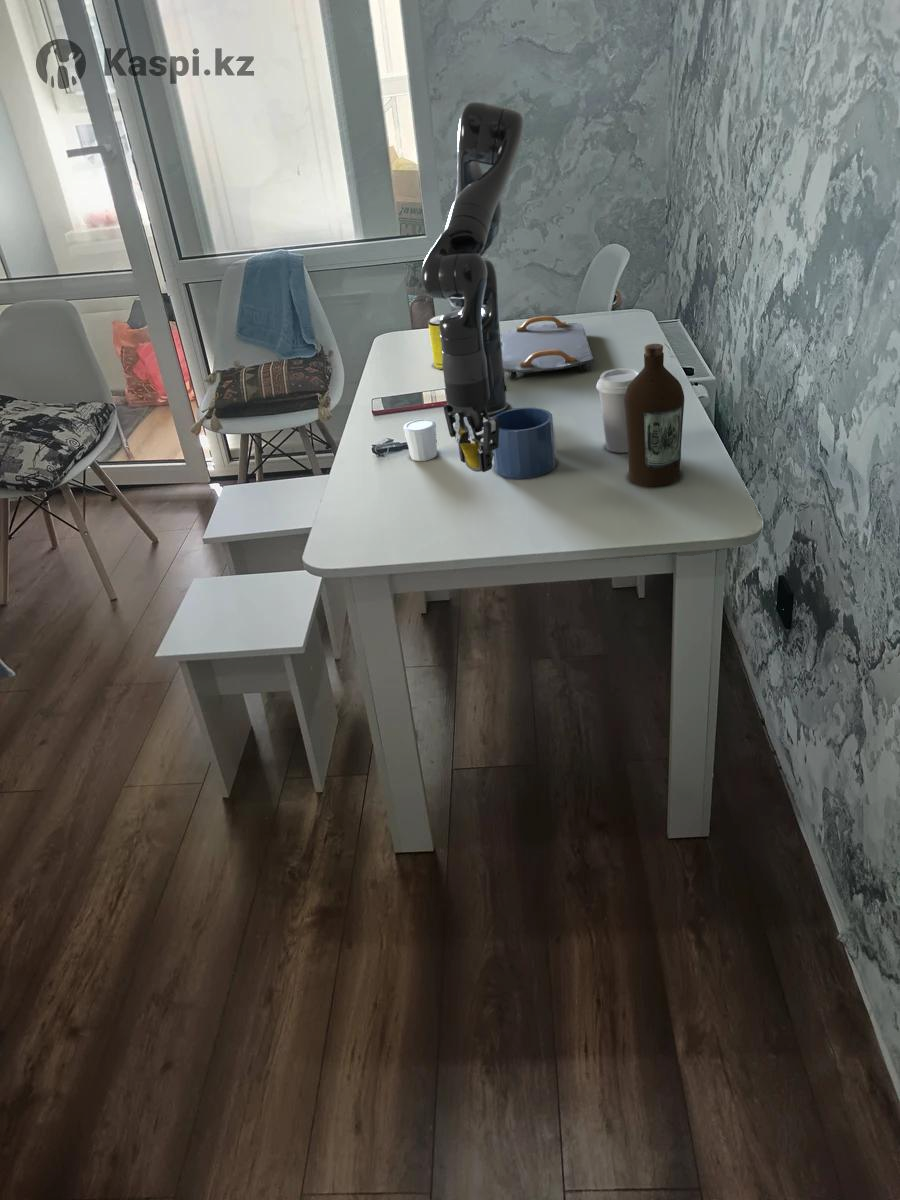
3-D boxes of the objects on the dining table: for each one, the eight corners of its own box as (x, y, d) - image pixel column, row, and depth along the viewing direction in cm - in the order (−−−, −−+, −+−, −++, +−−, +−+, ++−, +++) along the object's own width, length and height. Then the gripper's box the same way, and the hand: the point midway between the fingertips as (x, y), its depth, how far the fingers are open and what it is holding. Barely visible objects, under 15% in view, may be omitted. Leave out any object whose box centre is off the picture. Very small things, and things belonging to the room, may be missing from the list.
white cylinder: (416, 465, 191) (411, 433, 187) (402, 455, 196) (397, 424, 192) (445, 455, 193) (441, 424, 189) (431, 446, 198) (426, 415, 195)
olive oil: (617, 471, 176) (613, 344, 163) (668, 460, 178) (669, 333, 164) (639, 493, 167) (637, 360, 154) (693, 481, 169) (695, 348, 155)
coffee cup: (649, 437, 188) (648, 366, 180) (642, 456, 181) (641, 383, 173) (603, 436, 191) (600, 367, 183) (594, 455, 184) (591, 383, 176)
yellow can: (473, 359, 246) (468, 314, 240) (455, 370, 240) (450, 324, 234) (445, 357, 251) (439, 313, 245) (427, 367, 245) (421, 323, 239)
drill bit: (503, 469, 164) (476, 449, 156) (478, 481, 167) (450, 463, 158) (496, 444, 166) (469, 423, 158) (472, 456, 168) (444, 437, 160)
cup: (483, 467, 186) (477, 421, 180) (529, 448, 191) (526, 402, 186) (519, 484, 177) (515, 436, 171) (568, 464, 182) (565, 416, 177)
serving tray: (596, 374, 224) (595, 349, 220) (502, 385, 226) (500, 360, 223) (582, 330, 256) (581, 307, 253) (500, 339, 259) (498, 317, 255)
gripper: (508, 377, 151) (517, 470, 160) (460, 360, 162) (470, 448, 171) (472, 390, 148) (482, 484, 157) (424, 372, 159) (437, 461, 168)
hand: (476, 465), depth 164 cm, fingers closed on drill bit, 5 cm apart
